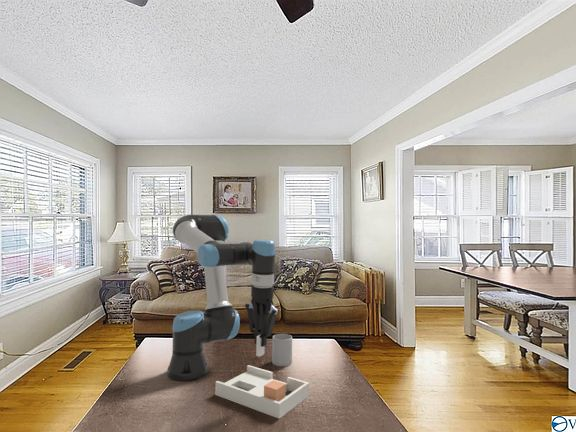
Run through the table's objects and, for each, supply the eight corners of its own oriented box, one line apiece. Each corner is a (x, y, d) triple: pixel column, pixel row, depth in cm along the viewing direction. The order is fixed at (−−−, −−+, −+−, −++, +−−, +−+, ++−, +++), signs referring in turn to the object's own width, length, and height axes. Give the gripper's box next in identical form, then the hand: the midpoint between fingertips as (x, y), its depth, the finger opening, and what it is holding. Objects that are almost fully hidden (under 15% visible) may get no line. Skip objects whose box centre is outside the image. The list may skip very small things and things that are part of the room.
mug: (288, 367, 152) (289, 340, 152) (269, 365, 154) (269, 338, 154) (296, 357, 163) (296, 332, 163) (278, 355, 166) (278, 330, 166)
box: (215, 394, 127) (215, 381, 127) (248, 376, 142) (248, 365, 142) (279, 418, 112) (279, 403, 112) (309, 395, 127) (309, 382, 127)
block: (263, 401, 118) (263, 385, 118) (272, 395, 122) (273, 380, 122) (276, 405, 115) (276, 389, 115) (285, 399, 119) (285, 384, 119)
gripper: (240, 284, 125) (238, 353, 125) (271, 290, 118) (269, 363, 118) (254, 281, 131) (252, 347, 132) (284, 286, 124) (282, 356, 124)
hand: (260, 354), depth 125 cm, fingers closed
